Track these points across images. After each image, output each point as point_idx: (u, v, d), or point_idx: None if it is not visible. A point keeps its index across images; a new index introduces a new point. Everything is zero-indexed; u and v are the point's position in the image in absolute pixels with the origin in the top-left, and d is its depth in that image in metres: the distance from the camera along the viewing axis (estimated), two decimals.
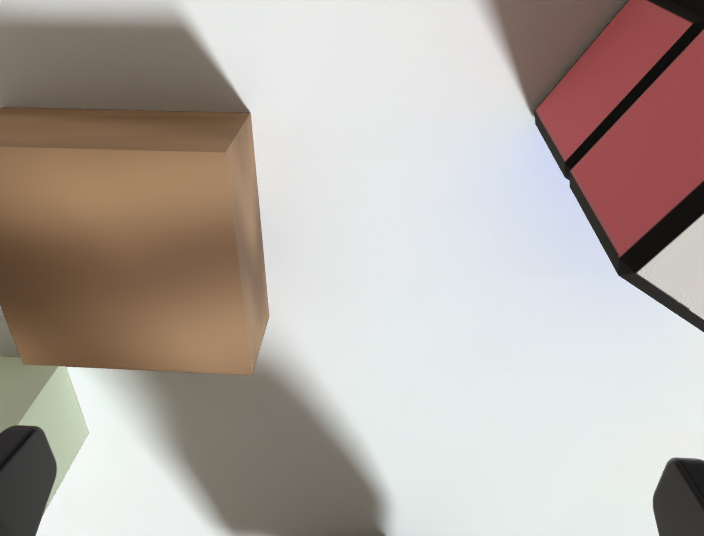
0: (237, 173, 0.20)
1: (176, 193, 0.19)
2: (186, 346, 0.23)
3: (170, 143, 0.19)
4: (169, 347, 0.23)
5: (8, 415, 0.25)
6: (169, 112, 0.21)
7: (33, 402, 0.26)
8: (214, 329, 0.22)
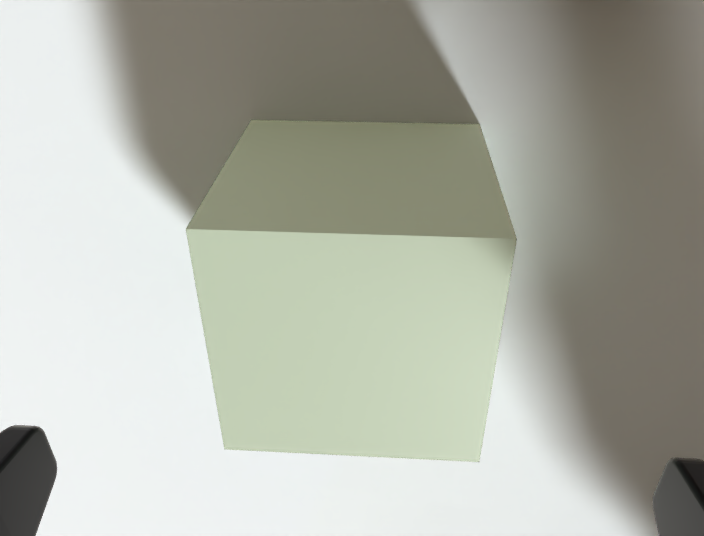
0: None
1: None
2: None
3: None
4: None
5: (462, 196, 0.10)
6: None
7: (496, 180, 0.11)
8: None
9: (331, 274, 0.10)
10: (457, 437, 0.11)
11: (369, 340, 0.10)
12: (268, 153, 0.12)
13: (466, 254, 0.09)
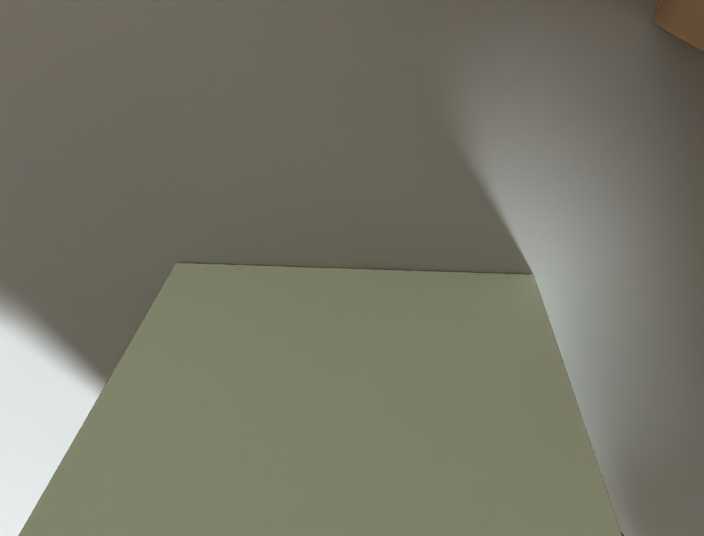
0: None
1: None
2: None
3: None
4: None
5: (532, 500, 0.05)
6: None
7: (587, 438, 0.06)
8: None
9: None
10: None
11: None
12: (186, 357, 0.07)
13: None
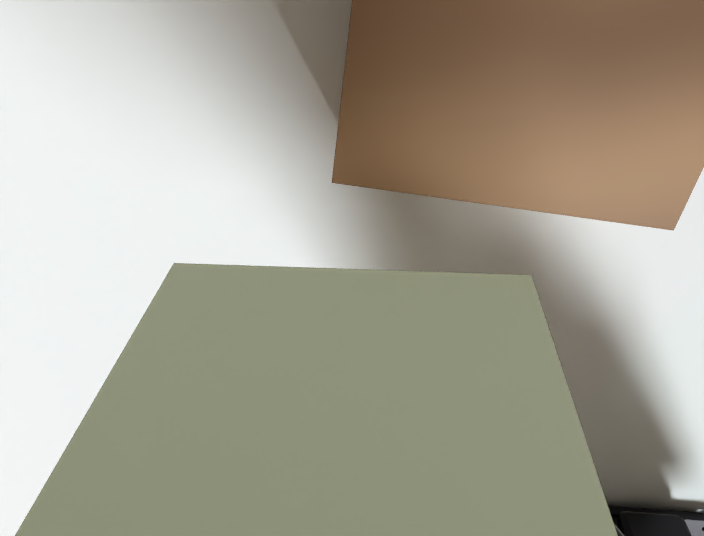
0: None
1: None
2: (600, 173, 0.15)
3: None
4: (574, 172, 0.15)
5: (527, 500, 0.05)
6: None
7: (584, 438, 0.06)
8: (661, 146, 0.15)
9: None
10: None
11: None
12: (183, 357, 0.07)
13: None
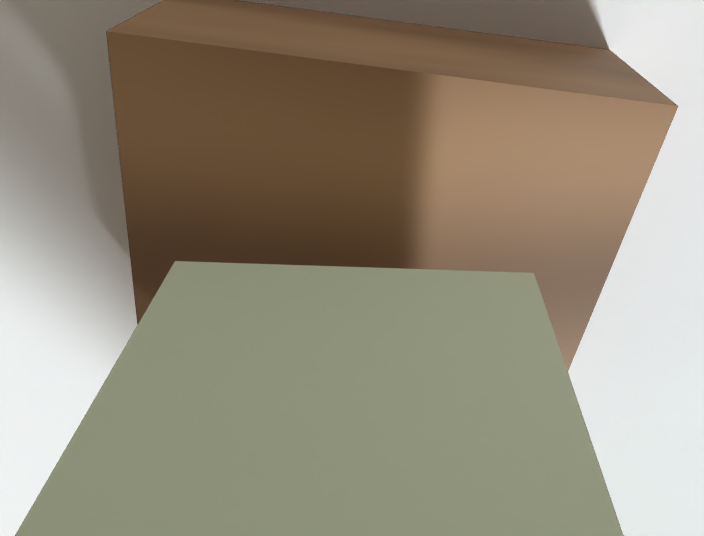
0: None
1: (542, 175, 0.10)
2: None
3: (551, 80, 0.10)
4: None
5: (532, 498, 0.05)
6: (473, 33, 0.12)
7: (589, 437, 0.06)
8: None
9: None
10: None
11: None
12: (185, 355, 0.07)
13: None
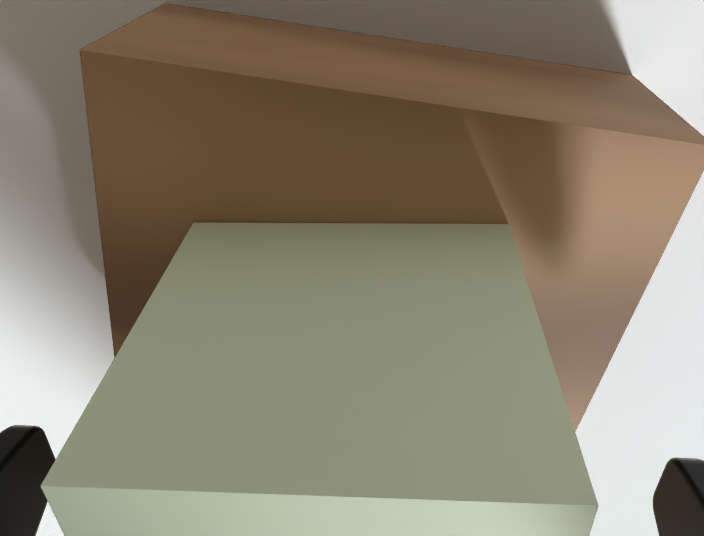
0: None
1: (561, 217, 0.09)
2: None
3: (575, 112, 0.09)
4: None
5: (496, 389, 0.06)
6: (485, 54, 0.11)
7: None
8: None
9: None
10: None
11: None
12: (206, 294, 0.08)
13: (510, 522, 0.05)
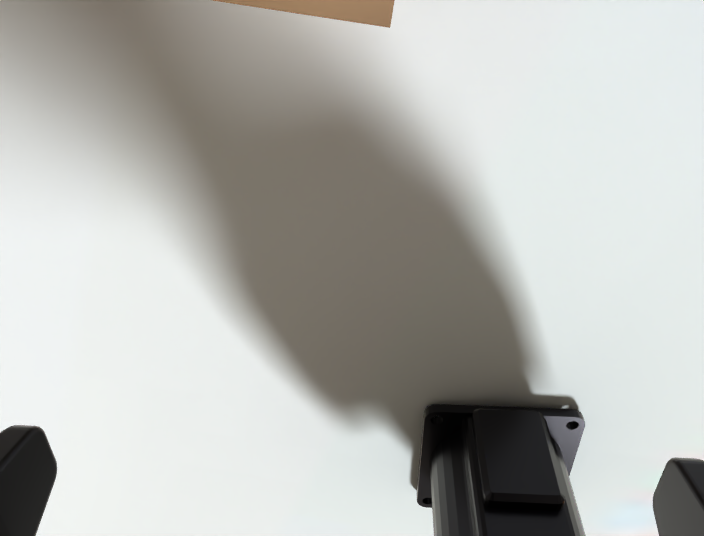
0: None
1: None
2: None
3: None
4: None
5: None
6: None
7: None
8: None
9: None
10: None
11: None
12: None
13: None
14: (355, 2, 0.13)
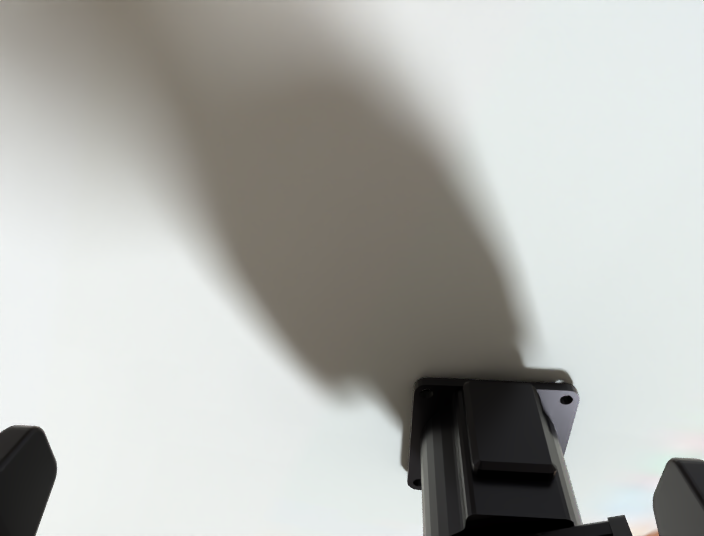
0: None
1: None
2: None
3: None
4: None
5: None
6: None
7: None
8: None
9: None
10: None
11: None
12: None
13: None
14: None
